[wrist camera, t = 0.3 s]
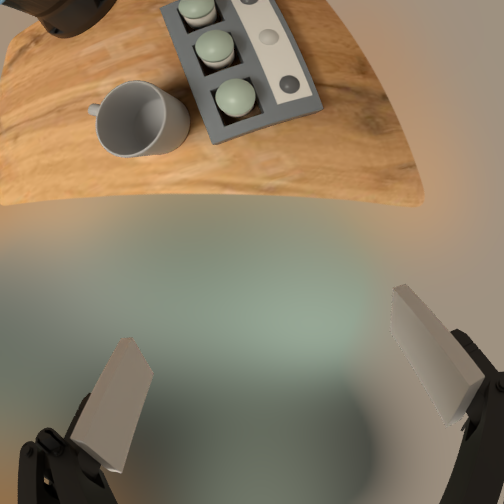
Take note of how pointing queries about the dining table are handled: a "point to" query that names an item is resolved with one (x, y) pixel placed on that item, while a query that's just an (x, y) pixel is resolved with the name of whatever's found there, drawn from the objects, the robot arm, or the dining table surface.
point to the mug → (140, 120)
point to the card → (273, 50)
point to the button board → (235, 74)
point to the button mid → (215, 49)
